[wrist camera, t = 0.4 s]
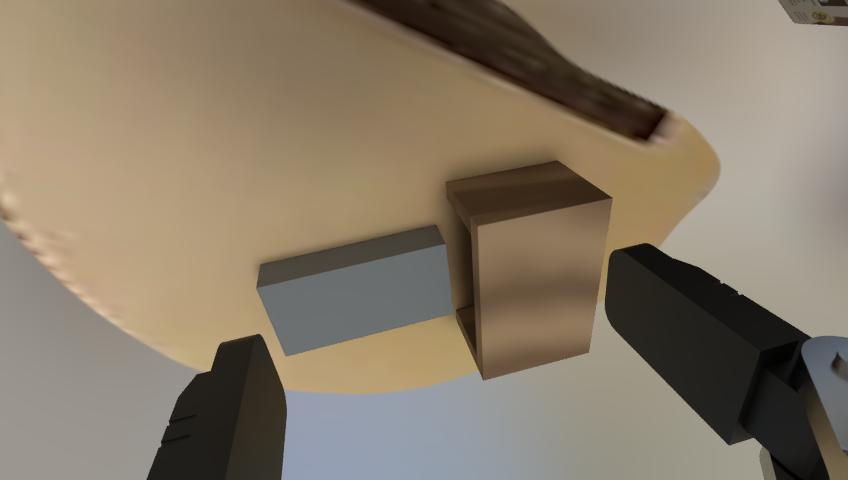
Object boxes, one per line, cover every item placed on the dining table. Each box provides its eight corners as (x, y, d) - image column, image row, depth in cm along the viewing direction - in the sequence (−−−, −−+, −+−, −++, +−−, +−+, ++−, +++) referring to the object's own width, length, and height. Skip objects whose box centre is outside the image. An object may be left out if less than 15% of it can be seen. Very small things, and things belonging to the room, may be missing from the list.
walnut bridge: (547, 299, 35) (588, 352, 30) (457, 321, 34) (483, 380, 29) (557, 160, 29) (612, 198, 24) (446, 182, 28) (477, 226, 22)
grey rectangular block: (261, 261, 28) (256, 288, 25) (434, 222, 29) (445, 243, 27) (287, 327, 31) (285, 356, 29) (442, 288, 33) (453, 313, 30)
